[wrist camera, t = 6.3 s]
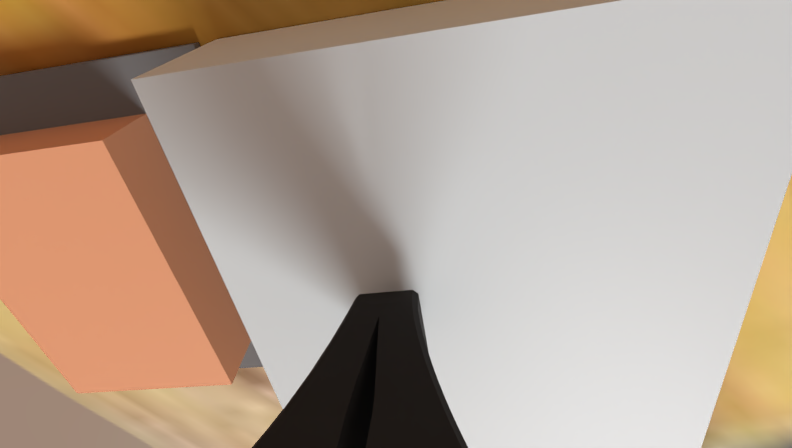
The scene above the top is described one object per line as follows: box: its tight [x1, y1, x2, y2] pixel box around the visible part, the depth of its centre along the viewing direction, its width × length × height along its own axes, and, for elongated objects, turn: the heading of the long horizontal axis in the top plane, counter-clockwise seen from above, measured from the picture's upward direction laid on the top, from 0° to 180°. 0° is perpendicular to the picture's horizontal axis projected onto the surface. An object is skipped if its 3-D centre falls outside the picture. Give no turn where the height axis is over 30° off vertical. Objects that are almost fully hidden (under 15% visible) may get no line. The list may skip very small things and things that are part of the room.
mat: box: [0, 42, 263, 368], centre depth 15 cm, size 8×12×1 cm, turn 9°
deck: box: [131, 0, 792, 448], centre depth 14 cm, size 12×18×4 cm, turn 9°
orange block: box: [0, 114, 251, 393], centre depth 14 cm, size 6×9×2 cm, turn 9°
